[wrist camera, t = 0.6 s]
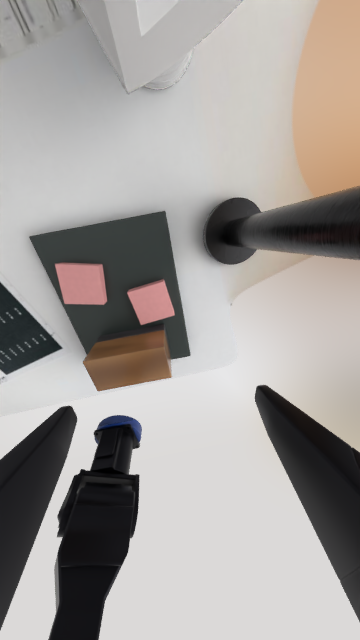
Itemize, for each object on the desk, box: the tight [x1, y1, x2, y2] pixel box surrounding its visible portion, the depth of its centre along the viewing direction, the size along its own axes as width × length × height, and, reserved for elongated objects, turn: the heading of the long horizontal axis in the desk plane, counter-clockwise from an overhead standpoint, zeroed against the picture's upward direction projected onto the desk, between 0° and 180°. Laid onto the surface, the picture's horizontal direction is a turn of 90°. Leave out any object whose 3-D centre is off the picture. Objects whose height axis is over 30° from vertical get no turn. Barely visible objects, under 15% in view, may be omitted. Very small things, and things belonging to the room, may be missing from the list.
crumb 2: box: [127, 279, 175, 325], centre depth 19 cm, size 4×4×1 cm
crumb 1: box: [55, 263, 107, 305], centre depth 18 cm, size 4×4×1 cm
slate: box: [30, 211, 190, 359], centre depth 20 cm, size 17×13×1 cm
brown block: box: [83, 324, 172, 391], centre depth 20 cm, size 4×8×5 cm, turn 100°
